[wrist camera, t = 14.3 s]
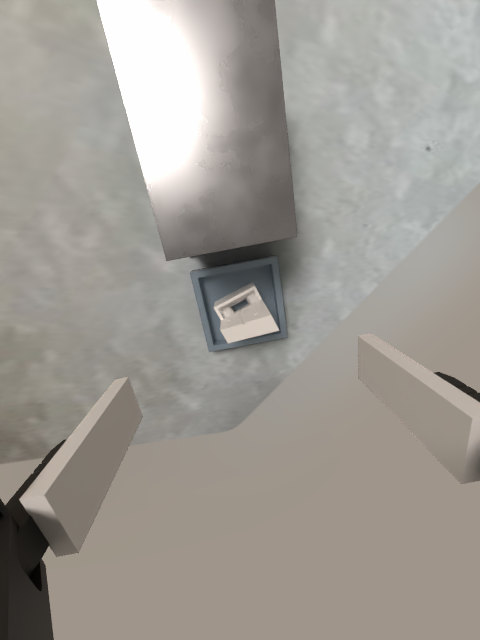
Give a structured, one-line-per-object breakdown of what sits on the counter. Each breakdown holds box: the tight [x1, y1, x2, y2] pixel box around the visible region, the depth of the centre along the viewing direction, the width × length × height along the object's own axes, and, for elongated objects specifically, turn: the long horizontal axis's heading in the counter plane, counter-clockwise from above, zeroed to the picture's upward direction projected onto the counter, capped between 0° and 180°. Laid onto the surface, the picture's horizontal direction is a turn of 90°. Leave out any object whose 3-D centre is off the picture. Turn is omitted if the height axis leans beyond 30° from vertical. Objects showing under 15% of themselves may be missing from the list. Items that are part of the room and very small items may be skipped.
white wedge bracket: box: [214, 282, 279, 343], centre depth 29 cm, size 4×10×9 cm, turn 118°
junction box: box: [97, 0, 297, 261], centre depth 23 cm, size 11×17×13 cm, turn 10°
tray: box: [190, 255, 288, 352], centre depth 33 cm, size 11×11×2 cm
